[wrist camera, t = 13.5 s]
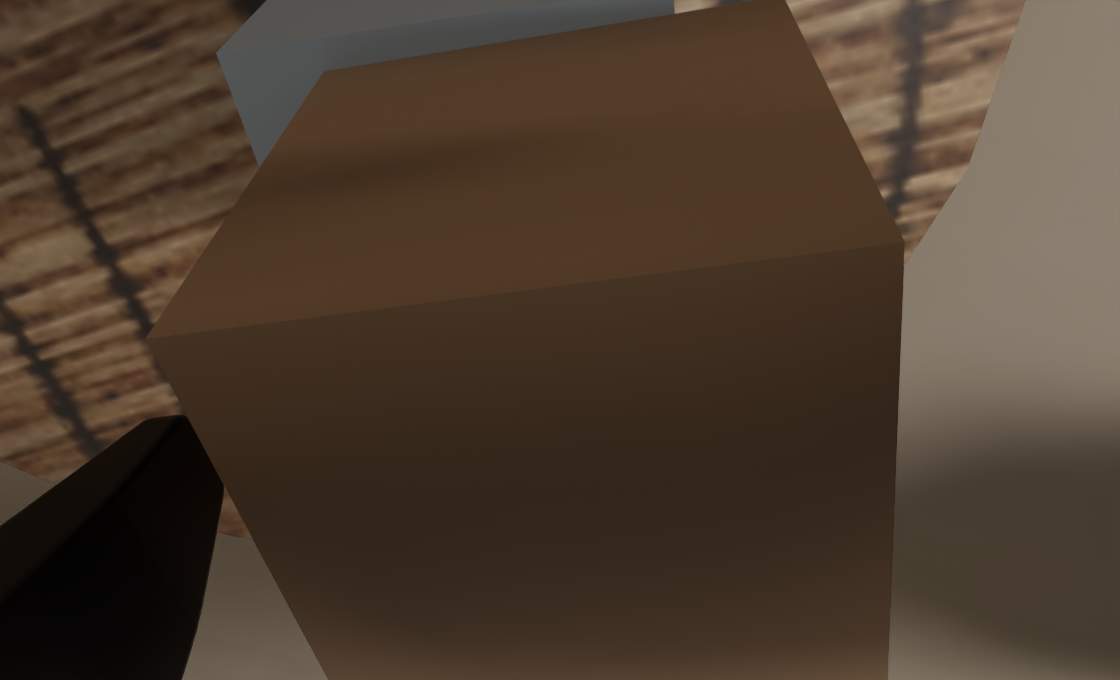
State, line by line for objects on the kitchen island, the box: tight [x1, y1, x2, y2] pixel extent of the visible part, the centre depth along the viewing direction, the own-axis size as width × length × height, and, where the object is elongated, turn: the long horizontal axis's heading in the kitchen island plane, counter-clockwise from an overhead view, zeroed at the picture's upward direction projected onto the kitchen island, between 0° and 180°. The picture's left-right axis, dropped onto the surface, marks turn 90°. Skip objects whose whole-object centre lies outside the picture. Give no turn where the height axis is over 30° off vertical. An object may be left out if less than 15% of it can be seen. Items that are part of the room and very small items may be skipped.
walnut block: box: [146, 0, 905, 680], centre depth 10 cm, size 5×5×5 cm
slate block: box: [216, 0, 675, 168], centre depth 14 cm, size 5×5×5 cm
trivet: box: [0, 0, 1025, 538], centre depth 16 cm, size 25×25×2 cm
